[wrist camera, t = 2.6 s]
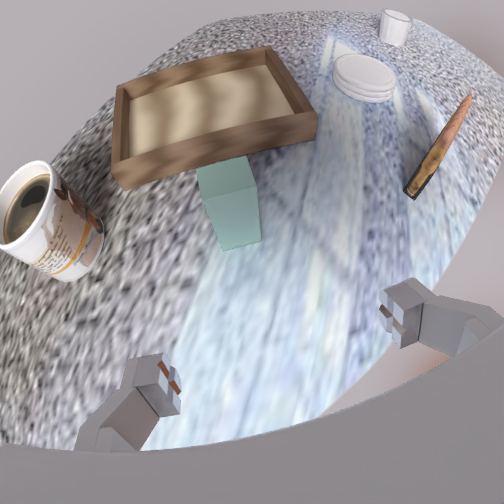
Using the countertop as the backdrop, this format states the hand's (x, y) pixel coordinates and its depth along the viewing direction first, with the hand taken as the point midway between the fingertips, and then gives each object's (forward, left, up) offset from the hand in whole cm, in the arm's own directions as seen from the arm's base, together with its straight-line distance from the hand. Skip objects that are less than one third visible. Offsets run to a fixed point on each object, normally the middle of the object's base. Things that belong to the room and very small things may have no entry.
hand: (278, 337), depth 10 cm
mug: (-20, +18, -17) cm, 32 cm away
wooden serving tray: (0, +31, -17) cm, 36 cm away
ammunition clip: (+25, +14, -17) cm, 34 cm away
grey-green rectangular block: (0, +12, -17) cm, 21 cm away
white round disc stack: (+25, +32, -18) cm, 44 cm away
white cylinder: (+42, +48, -17) cm, 66 cm away
